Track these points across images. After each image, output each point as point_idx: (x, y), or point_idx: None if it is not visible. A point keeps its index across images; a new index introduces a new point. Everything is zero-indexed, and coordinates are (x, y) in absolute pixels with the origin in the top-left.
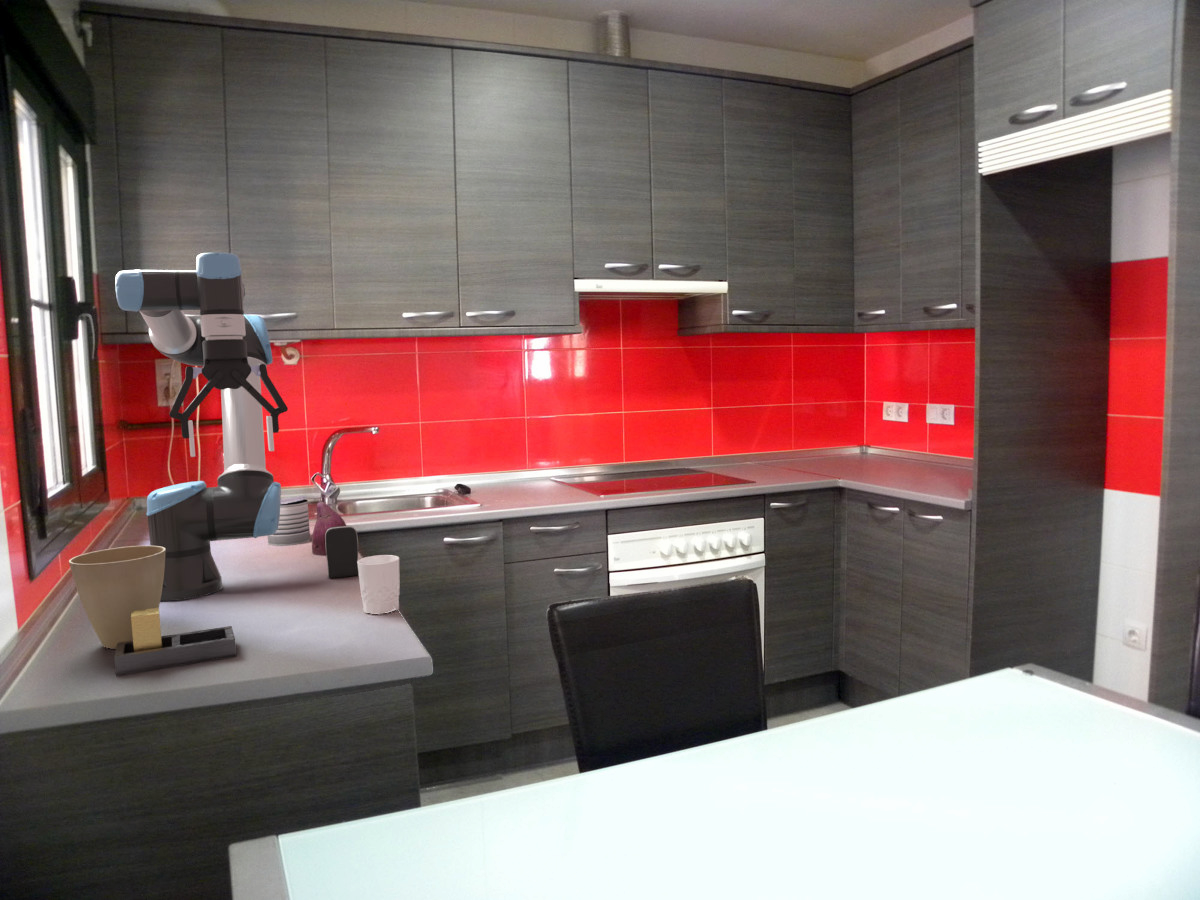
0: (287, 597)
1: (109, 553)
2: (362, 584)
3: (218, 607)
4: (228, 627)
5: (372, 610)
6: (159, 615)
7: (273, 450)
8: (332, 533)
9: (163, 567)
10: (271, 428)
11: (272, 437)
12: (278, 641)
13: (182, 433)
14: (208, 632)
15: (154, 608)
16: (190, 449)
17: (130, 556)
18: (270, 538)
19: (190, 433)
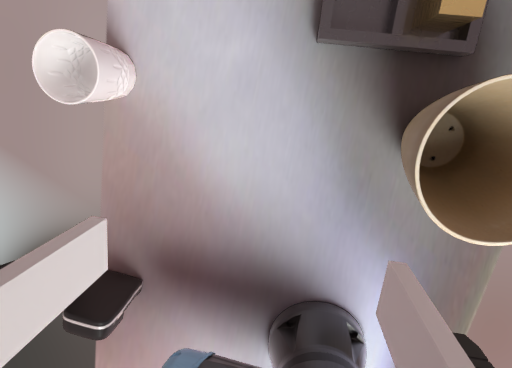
0: (208, 225)
1: (499, 237)
2: (115, 61)
3: (294, 236)
4: (323, 31)
5: (125, 54)
6: (437, 3)
7: (93, 216)
8: (99, 317)
9: (416, 132)
10: (22, 259)
11: (56, 238)
12: (264, 6)
13: (483, 355)
14: (352, 30)
15: (446, 12)
16: (416, 281)
17: (457, 228)
18: None
19: (444, 329)
